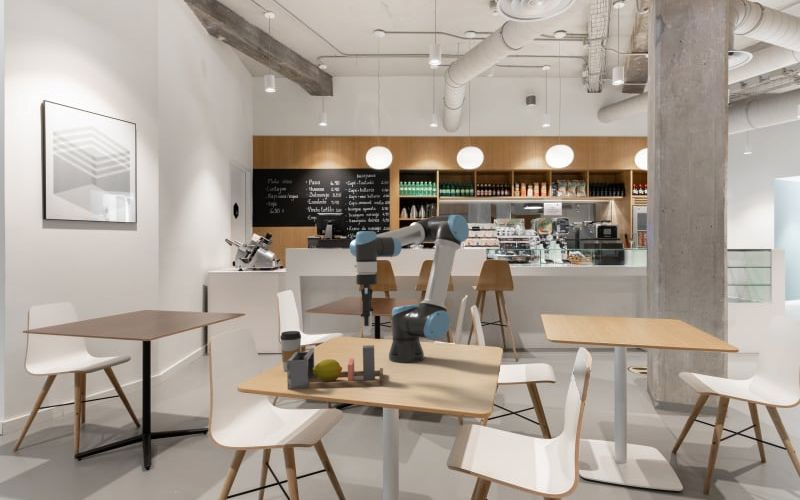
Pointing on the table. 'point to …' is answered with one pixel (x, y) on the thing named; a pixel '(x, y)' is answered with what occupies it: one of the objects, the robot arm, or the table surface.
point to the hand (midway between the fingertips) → (367, 332)
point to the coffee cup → (289, 345)
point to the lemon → (327, 370)
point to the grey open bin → (300, 369)
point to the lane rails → (350, 383)
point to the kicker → (364, 365)
